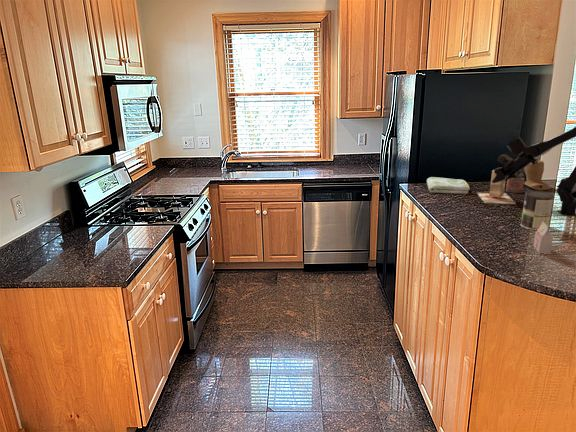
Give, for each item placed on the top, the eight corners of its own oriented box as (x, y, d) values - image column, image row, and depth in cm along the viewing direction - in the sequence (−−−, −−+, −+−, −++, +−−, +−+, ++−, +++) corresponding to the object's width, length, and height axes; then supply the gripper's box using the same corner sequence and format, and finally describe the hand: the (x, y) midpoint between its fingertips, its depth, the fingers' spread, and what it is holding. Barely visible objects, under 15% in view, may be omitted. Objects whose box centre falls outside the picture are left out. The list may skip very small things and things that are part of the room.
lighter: (505, 191, 233) (508, 173, 230) (505, 190, 236) (508, 172, 233) (522, 193, 230) (525, 174, 227) (522, 191, 233) (525, 173, 230)
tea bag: (544, 247, 159) (548, 221, 156) (550, 254, 153) (554, 228, 150) (533, 247, 160) (537, 221, 157) (538, 254, 154) (543, 227, 151)
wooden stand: (518, 184, 248) (522, 158, 243) (540, 184, 246) (545, 158, 241) (526, 190, 234) (531, 163, 229) (550, 191, 232) (555, 163, 227)
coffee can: (517, 227, 180) (522, 194, 175) (523, 221, 187) (528, 189, 183) (545, 232, 174) (551, 198, 169) (550, 225, 181) (556, 193, 177)
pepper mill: (499, 197, 217) (502, 169, 212) (489, 195, 220) (492, 168, 216) (503, 195, 220) (507, 168, 215) (493, 193, 223) (496, 166, 219)
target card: (515, 204, 211) (516, 202, 211) (485, 203, 213) (485, 201, 213) (505, 194, 228) (505, 193, 227) (477, 193, 230) (477, 192, 230)
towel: (470, 194, 231) (471, 185, 229) (428, 193, 235) (429, 184, 233) (464, 186, 247) (465, 177, 246) (425, 185, 252) (426, 176, 250)
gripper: (519, 147, 215) (495, 166, 227) (500, 151, 204) (475, 171, 216) (533, 165, 211) (508, 183, 223) (515, 170, 201) (489, 189, 212)
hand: (495, 181), depth 219 cm, fingers closed on pepper mill, 5 cm apart
